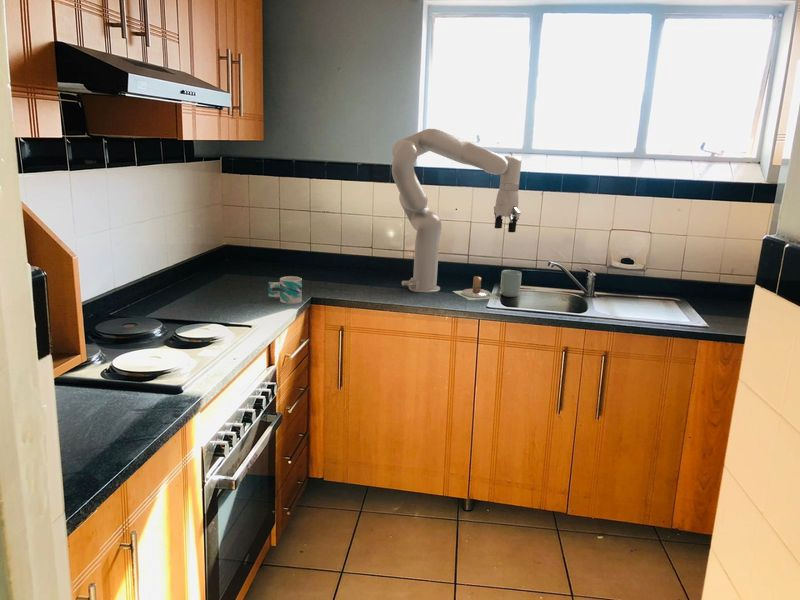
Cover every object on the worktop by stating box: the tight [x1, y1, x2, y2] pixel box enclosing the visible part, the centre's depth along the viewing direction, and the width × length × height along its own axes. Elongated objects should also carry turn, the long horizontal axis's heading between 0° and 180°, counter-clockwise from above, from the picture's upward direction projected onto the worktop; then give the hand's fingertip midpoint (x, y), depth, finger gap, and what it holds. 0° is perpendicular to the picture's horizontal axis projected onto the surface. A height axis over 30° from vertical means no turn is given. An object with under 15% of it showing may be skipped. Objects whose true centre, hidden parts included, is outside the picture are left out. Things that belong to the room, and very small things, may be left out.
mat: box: [451, 288, 501, 301], centre depth 261 cm, size 14×14×1 cm
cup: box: [500, 269, 522, 298], centre depth 262 cm, size 8×8×10 cm
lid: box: [461, 275, 491, 298], centre depth 260 cm, size 11×11×7 cm
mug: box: [267, 275, 303, 305], centre depth 240 cm, size 8×12×8 cm
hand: (504, 230), depth 268 cm, fingers open, 9 cm apart
